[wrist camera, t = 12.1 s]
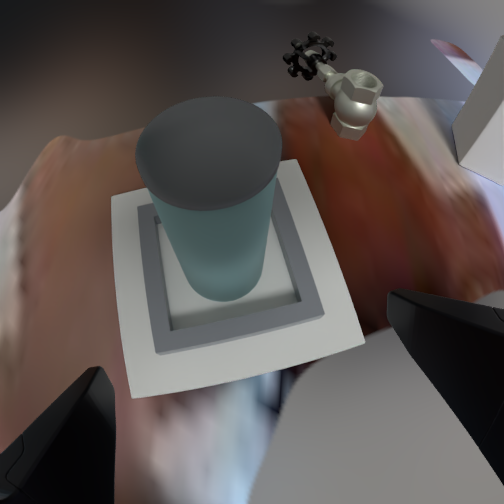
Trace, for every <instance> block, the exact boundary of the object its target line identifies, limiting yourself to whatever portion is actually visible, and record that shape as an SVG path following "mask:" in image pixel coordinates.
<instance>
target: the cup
mask: <svg viewBox="0 0 504 504" xmlns="http://www.w3.org/2000/svg"><path fill="white" fill-rule="evenodd" d="M281 152H282V138H281V134H280V131H279V128H278V126H277V125H276V123H275V122H274V120H273V119H272V118H271V117H270V116H269V115H268V114H267V113H266V112H265V111H263V110H262V109H260V108H259V107H257V106H255V105H253V104H251V103H249V102H246V101H243V100H239V99H236V98H230V97H221V96H211V97H200V98H195V99H191V100H187V101H184V102H181V103H179V104H176V105H174V106H172V107H170V108H168V109H166V110H165V111H163V112H161V113H160V114H159V115H157V116H156V117H155V118H154V119H153V120H152V121H151V122H150V123H149V124H148V125H147V126H146V128H145V129H144V130H143V132H142V134H141V135H140V137H139V140H138V142H137V146H136V153H135V157H136V164H137V167H138V170H139V173H140V175H141V178H142V180H143V182H144V184H145V185H146V187H147V189H148V191H149V194H150V196H151V199H152V201H153V204H154V206H155V208H156V211H157V213H158V216H159V218H160V220H161V223H162V225H163V227H164V230H165V232H166V234H167V236H168V239H169V241H170V243H171V245H172V248H173V250H174V252H175V254H176V257H177V259H178V261H179V263H180V265H181V268H182V270H183V272H184V274H185V276H186V278H187V281H188V282H189V284H190V286H191V287H192V288H193V290H195V291H196V292H197V293H198V294H199V295H201V296H202V297H204V298H206V299H209V300H212V301H217V302H228V301H234V300H237V299H239V298H242V297H243V296H245V295H247V294H248V293H249V292H250V291H251V290H252V289H253V288H254V287H255V286H256V285H257V283H258V281H259V279H260V277H261V274H262V269H263V263H264V256H265V250H266V243H267V237H268V230H269V224H270V217H271V210H272V204H273V197H274V190H275V184H276V177H277V170H278V167H279V163H280V158H281Z"/></svg>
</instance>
